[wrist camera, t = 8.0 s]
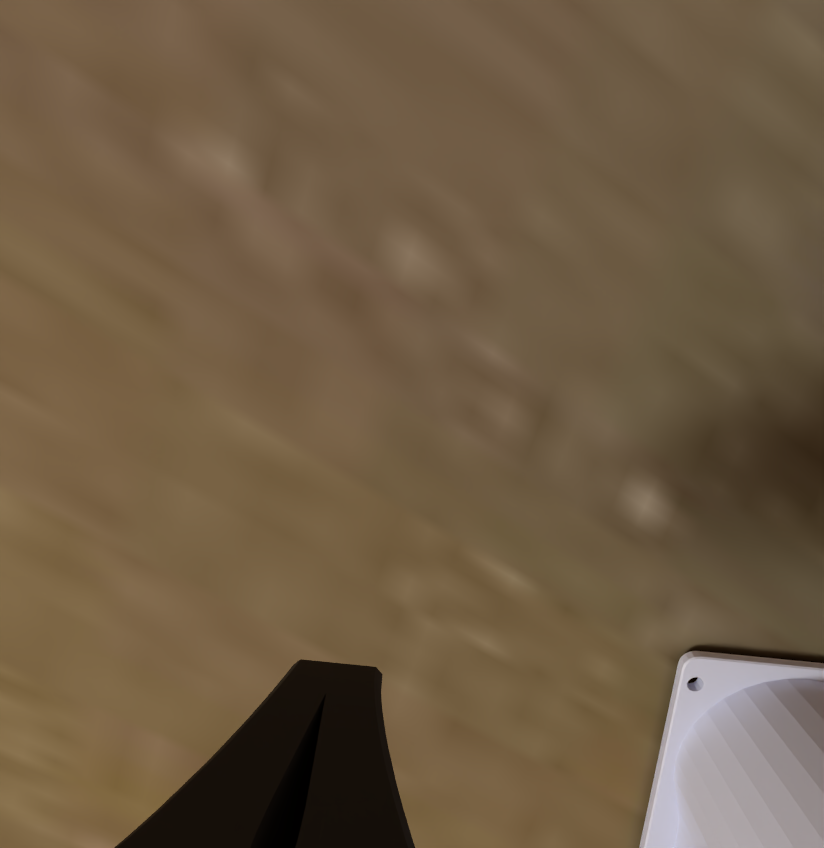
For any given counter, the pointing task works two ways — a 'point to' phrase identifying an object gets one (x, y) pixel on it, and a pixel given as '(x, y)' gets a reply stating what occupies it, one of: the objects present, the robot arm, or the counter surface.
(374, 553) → the counter surface
